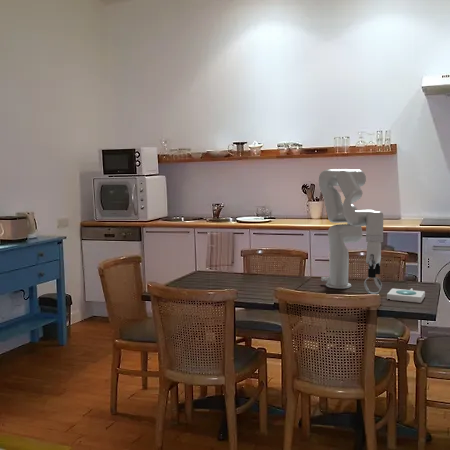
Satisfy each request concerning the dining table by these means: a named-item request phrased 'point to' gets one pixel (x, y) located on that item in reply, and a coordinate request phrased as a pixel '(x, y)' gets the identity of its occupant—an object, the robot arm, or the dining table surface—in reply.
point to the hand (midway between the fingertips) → (374, 275)
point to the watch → (378, 284)
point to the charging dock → (406, 295)
